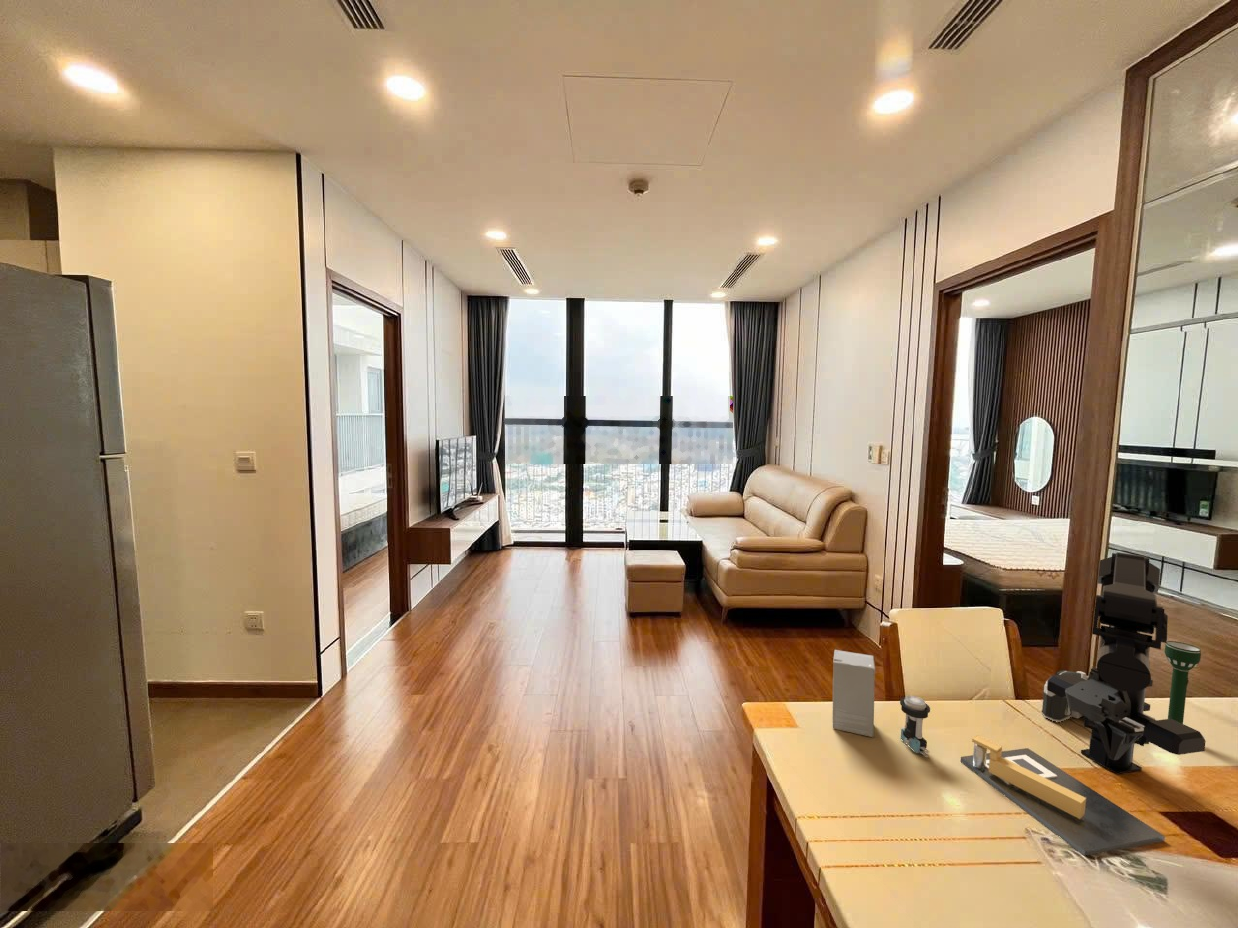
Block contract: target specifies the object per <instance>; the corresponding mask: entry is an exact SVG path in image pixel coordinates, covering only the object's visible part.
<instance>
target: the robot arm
mask: <svg viewBox="0 0 1238 928" xmlns="http://www.w3.org/2000/svg"><path fill="white" fill-rule="evenodd" d="M1097 572H1098V573H1097V584H1100V585H1101V595H1099V594H1096V595H1095V602H1094V611H1093V622H1092V629H1091V630H1092V632H1091V633H1092V635H1094V636H1098V637H1099V636H1100V637H1099V648H1098V654H1097V659H1096V660H1097V662H1096V667H1094V668H1090V671H1089V673H1088V676H1089V677H1088V679H1087V680H1085V679H1083V678H1081V677H1079V676H1076V675H1074V674H1062V675H1056V674H1053V675H1051V676H1049V677H1048V679H1047V680H1046V681H1047V690H1048V691H1050V692H1052V693H1054V694H1056V695H1058V696H1060V697H1062V698H1065V697H1067V702H1068V706H1069V708H1070V709H1071V710H1072V711H1074V712H1078V713H1080V714H1082V715H1084V716H1083V717H1084V722H1083V727H1084V728H1085V729H1091V733H1090V738H1089V748H1086V749H1080V753H1081V754H1082V755H1083V756H1084V757H1087V758H1088V759H1090V760H1091V761H1094V762H1095V763H1097V764H1099V765H1101V766H1102V767H1104V768H1106V769H1107V770H1109V771H1111V772H1112V773H1114V774H1118V775H1119V774H1126V773H1127V774H1128V773H1132V772H1138V771H1140V772H1141V771H1142V769H1143V768H1142V766H1141V765H1138V764H1137V763H1135V762H1133V759H1134V749H1135V744H1137V745H1139V746H1141V747H1144V746H1145V745H1149V744H1153V745H1154V746H1156V747H1159V748H1160V749H1162V750H1164V751H1166V752H1168V753H1170V754H1174V755H1178V756H1181V755H1187V754H1194V753H1200V752H1201V753H1202V752H1205V751H1206V750H1205V749H1206V742H1207V740H1206V739H1205V736H1204V735H1203V734H1202V732H1200V731H1199V730H1197V729H1195V728H1192V727H1190V726H1188V725H1186V724H1185V723H1183V724H1182V723H1180V722H1177V721H1175V720H1173V719H1168V718H1165V719H1164V718H1163V719H1156V718H1155V717H1152V716H1150V715H1149V714H1146V713H1144V712H1149V711H1150V710H1151V704H1150V703H1147V702H1146V699H1145V698H1146V691H1147V688H1149V687H1153V684H1154V683H1153V682H1154V680H1153V679H1152V673H1151V664H1150V649H1151V648H1153V649H1156V650H1162V649H1161V648H1162V643H1164V644H1166V642H1167V641H1168V618H1169V616H1168V614H1167V613H1165V608H1164V607H1163V606H1161V605H1160V606H1159V605H1158V601H1157V595H1156V594H1158V593H1159V589H1160V582H1161V581H1160V577H1161V569H1160V568H1159V567H1157V566H1156V565H1154V564H1152V562H1150V557H1147V556H1145V555H1139V554H1132V553H1125V552H1119V551H1117V552H1112V553H1111V556H1110V557H1107V558H1103V559H1100V560H1099V563H1098V571H1097ZM1099 623H1100V624H1101V625H1100V627H1098V624H1099ZM1153 634H1155V636H1154V637H1155V638H1154V639H1153Z"/></svg>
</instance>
